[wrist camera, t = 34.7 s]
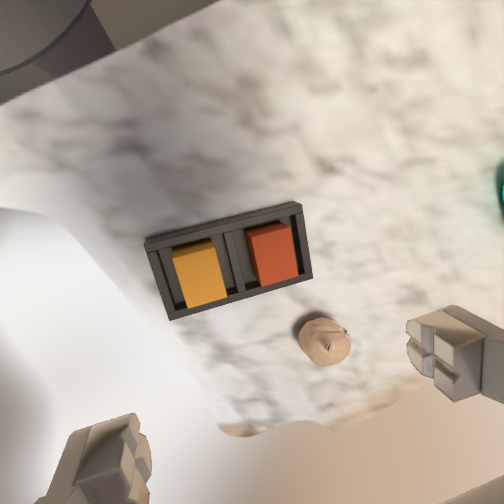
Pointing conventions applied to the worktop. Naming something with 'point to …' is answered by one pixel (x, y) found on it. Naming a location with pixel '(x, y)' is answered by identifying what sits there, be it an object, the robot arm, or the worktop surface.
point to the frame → (227, 256)
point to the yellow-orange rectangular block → (199, 273)
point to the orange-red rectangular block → (271, 252)
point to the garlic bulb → (324, 341)
